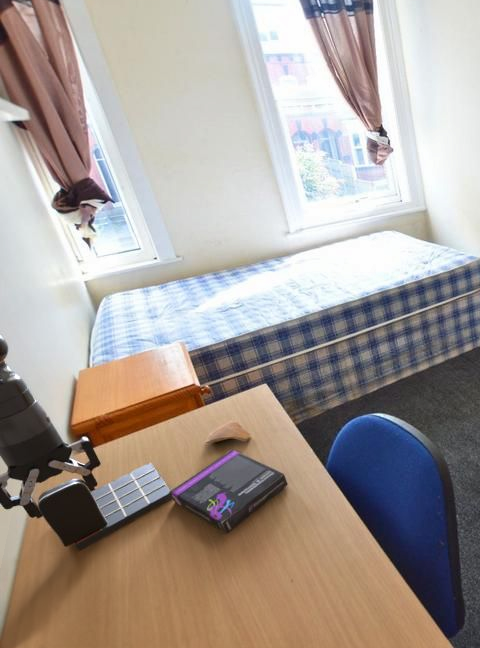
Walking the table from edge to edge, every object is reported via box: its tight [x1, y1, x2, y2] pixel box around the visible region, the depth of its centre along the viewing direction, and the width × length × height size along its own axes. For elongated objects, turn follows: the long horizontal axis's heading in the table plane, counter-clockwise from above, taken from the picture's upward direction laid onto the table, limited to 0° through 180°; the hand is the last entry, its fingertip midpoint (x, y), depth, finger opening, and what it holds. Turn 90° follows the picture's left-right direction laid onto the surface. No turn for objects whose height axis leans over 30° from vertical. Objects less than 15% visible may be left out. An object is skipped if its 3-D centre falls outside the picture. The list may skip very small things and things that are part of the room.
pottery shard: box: [205, 420, 252, 445], centre depth 117 cm, size 10×9×2 cm
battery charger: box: [37, 478, 108, 547], centre depth 88 cm, size 7×4×11 cm, turn 136°
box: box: [169, 449, 288, 534], centre depth 98 cm, size 14×4×20 cm
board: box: [74, 462, 173, 551], centre depth 99 cm, size 16×16×2 cm
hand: (66, 501), depth 87 cm, fingers closed on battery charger, 7 cm apart
